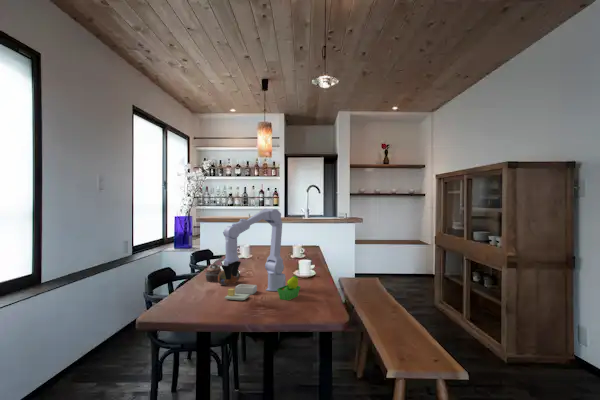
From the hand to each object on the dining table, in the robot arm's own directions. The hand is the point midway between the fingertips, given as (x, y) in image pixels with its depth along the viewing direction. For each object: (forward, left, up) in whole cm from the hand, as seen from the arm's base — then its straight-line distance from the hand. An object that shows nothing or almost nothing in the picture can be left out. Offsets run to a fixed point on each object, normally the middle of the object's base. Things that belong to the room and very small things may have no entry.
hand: (231, 277), depth 177 cm
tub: (-3, -12, -10) cm, 16 cm away
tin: (+14, -29, -11) cm, 34 cm away
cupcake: (+26, -34, -11) cm, 44 cm away
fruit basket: (-28, -7, -11) cm, 31 cm away
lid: (-3, 0, -10) cm, 10 cm away
